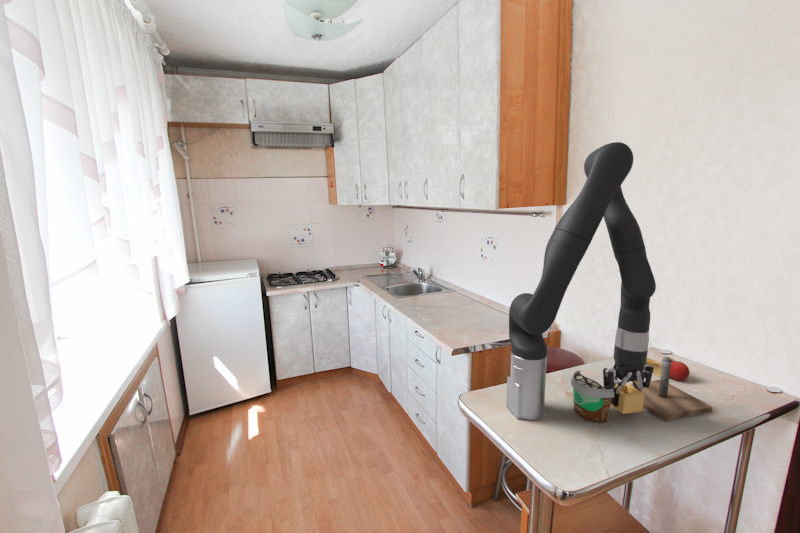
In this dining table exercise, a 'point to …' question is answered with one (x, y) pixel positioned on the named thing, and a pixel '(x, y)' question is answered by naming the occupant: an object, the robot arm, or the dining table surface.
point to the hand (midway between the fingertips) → (624, 402)
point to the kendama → (676, 371)
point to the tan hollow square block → (630, 400)
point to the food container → (591, 399)
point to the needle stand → (671, 398)
